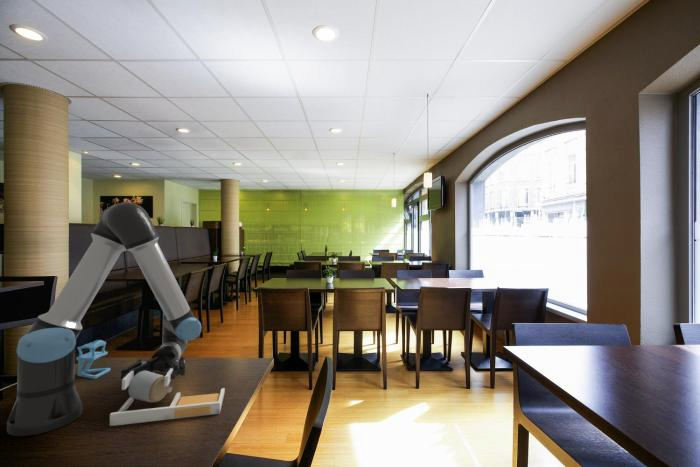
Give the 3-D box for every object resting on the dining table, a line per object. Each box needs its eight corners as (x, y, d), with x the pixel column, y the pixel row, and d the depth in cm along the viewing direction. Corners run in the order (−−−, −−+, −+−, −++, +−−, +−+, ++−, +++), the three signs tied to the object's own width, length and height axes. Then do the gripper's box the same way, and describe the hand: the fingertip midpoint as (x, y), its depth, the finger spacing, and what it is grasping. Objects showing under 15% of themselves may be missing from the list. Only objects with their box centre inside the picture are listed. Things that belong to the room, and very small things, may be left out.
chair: (89, 370, 128) (89, 337, 128) (111, 370, 128) (111, 337, 128) (71, 378, 120) (71, 344, 120) (94, 379, 120) (95, 344, 120)
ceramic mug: (149, 407, 95) (151, 379, 95) (127, 403, 97) (128, 375, 97) (179, 392, 105) (180, 366, 105) (158, 388, 107) (159, 363, 107)
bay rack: (109, 426, 90) (109, 415, 90) (129, 401, 104) (129, 391, 104) (219, 414, 97) (219, 403, 97) (224, 391, 111) (224, 382, 111)
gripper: (201, 365, 120) (188, 393, 98) (128, 370, 114) (97, 400, 92) (202, 343, 120) (189, 366, 98) (129, 347, 114) (98, 372, 93)
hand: (145, 383), depth 95 cm, fingers closed on ceramic mug, 10 cm apart
